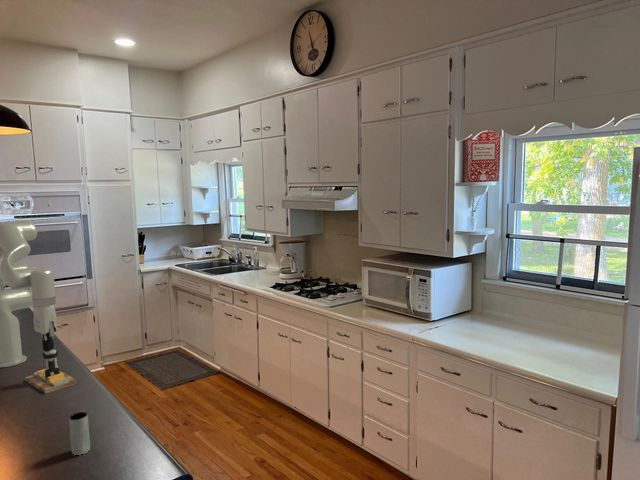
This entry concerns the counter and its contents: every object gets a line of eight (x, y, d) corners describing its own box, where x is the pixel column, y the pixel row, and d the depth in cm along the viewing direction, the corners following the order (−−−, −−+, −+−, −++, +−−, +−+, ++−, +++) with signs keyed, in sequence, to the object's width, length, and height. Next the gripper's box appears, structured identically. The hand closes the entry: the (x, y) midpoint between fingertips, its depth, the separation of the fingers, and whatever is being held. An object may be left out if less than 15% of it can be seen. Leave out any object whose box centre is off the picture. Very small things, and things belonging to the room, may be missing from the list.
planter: (76, 447, 131) (73, 412, 130) (92, 446, 132) (90, 411, 130) (69, 456, 127) (65, 420, 126) (86, 455, 127) (83, 419, 126)
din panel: (25, 381, 180) (25, 377, 179) (56, 372, 188) (55, 368, 188) (45, 393, 168) (45, 389, 167) (77, 383, 176) (76, 379, 176)
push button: (40, 380, 174) (38, 354, 173) (39, 376, 178) (37, 350, 177) (61, 376, 177) (58, 350, 176) (59, 372, 182) (57, 347, 181)
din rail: (33, 374, 182) (33, 372, 182) (47, 370, 186) (47, 368, 186) (54, 386, 170) (54, 384, 170) (68, 382, 174) (68, 380, 174)
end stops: (37, 374, 179) (36, 371, 179) (51, 370, 183) (50, 367, 183) (50, 382, 172) (49, 378, 172) (64, 378, 176) (64, 374, 176)
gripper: (25, 301, 176) (29, 348, 178) (41, 306, 167) (45, 356, 169) (47, 297, 182) (51, 343, 184) (63, 302, 173) (67, 350, 175)
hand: (48, 349), depth 176 cm, fingers closed
